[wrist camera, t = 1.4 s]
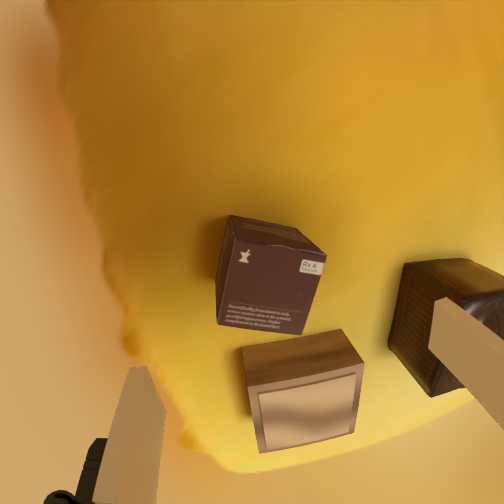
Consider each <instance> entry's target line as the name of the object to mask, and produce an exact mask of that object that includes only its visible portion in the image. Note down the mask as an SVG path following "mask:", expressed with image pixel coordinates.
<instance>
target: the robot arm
mask: <svg viewBox="0 0 504 504" xmlns="http://www.w3.org/2000/svg"><path fill="white" fill-rule="evenodd" d="M428 348H429V349H430V351H431V352H432V353H433V354H434V355H435V356H436V357H437V358H438V359H439V360H440V361H441V362H442V363H443V364H444V365H445V366H446V367H447V368H448V369H449V370H450V371H451V372H452V373H453V374H454V376H455V377H456V378H457V379H458V380H459V381H460V382H461V383H462V384H463V385H464V386H465V387H466V388H467V389H468V391H469V392H470V393H471V394H472V395H473V396H474V397H475V398H476V399H477V400H478V402H479V403H480V404H481V405H482V406H483V407H484V408H485V409H486V410H487V411H488V413H489V414H490V415H491V416H492V417H493V418H494V419H495V421H496V422H497V423H498V424H499V425H500V426H501V427H502V428H503V430H504V337H503V336H502V337H499V336H498V335H496V334H495V333H494V332H492V331H491V330H490V329H489V328H487V327H486V326H485V325H483V324H482V323H481V322H479V321H478V320H477V319H475V318H474V317H473V316H471V315H470V314H469V313H467V312H466V311H465V310H463V309H462V308H461V307H459V306H458V305H457V304H455V303H454V302H452V301H451V300H450V299H448V298H447V297H445V298H443V299H440V300H437V301H435V304H434V312H433V319H432V327H431V333H430V339H429V345H428ZM165 417H166V408H165V407H164V404H163V402H162V400H161V398H160V396H159V394H158V392H157V390H156V387H155V385H154V383H153V381H152V379H151V376H150V374H149V372H148V369H147V367H146V366H143V367H133V368H130V369H129V372H128V375H127V378H126V381H125V384H124V387H123V390H122V393H121V396H120V400H119V403H118V406H117V409H116V412H115V416H114V419H113V422H112V426H111V429H110V433H109V436H108V438H97V439H96V440H95V441H94V442H93V444H92V445H91V446H90V448H89V450H88V453H87V456H86V461H85V463H84V466H83V470H82V473H81V476H80V480H79V483H78V487H77V491H76V495H75V496H74V495H73V494H72V493H70V492H68V491H64V490H58V491H55V492H52V493H51V494H49V495H48V496H47V498H46V499H45V500H44V504H156V498H157V488H158V477H159V467H160V458H161V449H162V440H163V432H164V425H165Z"/></svg>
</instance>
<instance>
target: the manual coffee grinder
mask: <svg viewBox="0 0 504 504" xmlns="http://www.w3.org/2000/svg"><path fill="white" fill-rule="evenodd" d="M445 297H447V298H448V299H450V300H451V301H452V302H454V303H455V304H457V305H458V306H459V307H461V308H462V309H463V310H465V311H466V312H467V313H469V314H470V315H471V316H473V317H474V318H475V319H477V320H478V321H479V322H481V323H482V324H483V325H485V326H486V327H487V328H489V329H490V330H491V331H492V332H494V333H495V334H496V335H498V336H499V337H502V336H503V337H504V276H503V275H501V274H499V273H497V272H495V271H493V270H491V269H489V268H487V267H484V266H482V265H480V264H478V263H475V262H474V261H472V260H468V259H462V258H455V259H438V260H429V261H420V262H412V263H405V266H404V271H403V275H402V279H401V283H400V288H399V294H398V299H397V304H396V308H395V313H394V318H393V322H392V327H391V331H390V336H389V340H388V343H389V350H391V351H392V352H393V353H394V354H395V355H396V356H397V358H398V359H399V360H400V361H401V363H402V364H403V365H404V366H405V368H406V369H407V370H408V371H409V373H410V374H411V375H412V376H413V377H414V379H415V380H416V381H417V382H418V384H419V385H420V386H421V387H422V389H423V390H424V391H425V392H426V394H427V395H428V396H429V397H431V398H432V397H435V396H438V395H441V394H444V393H447V392H450V391H453V390H455V389H458V388H466V387H465V386H464V385H463V384H462V383H461V382H460V381H459V380H458V379H457V378H456V377H455V376H454V374H453V373H452V372H451V371H450V370H449V369H448V368H447V367H446V366H445V365H444V364H443V363H442V362H441V361H440V360H439V359H438V358H437V357H436V356H435V355H434V354H433V353H432V352H431V351H430V349H429V348H428V345H429V339H430V333H431V327H432V319H433V312H434V304H435V301H437V300H440V299H443V298H445Z"/></svg>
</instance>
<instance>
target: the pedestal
mask: <svg viewBox="0 0 504 504" xmlns="http://www.w3.org/2000/svg"><path fill="white" fill-rule="evenodd" d="M241 348H242V355H243V362H244V369H245V376H246V382H247V389H248V394H249V400H250V406H251V411H252V417H253V422H254V428H255V433H256V439H257V444H258V449H259V453H265V452H272V451H277V450H283V449H288V448H293V447H298V446H303V445H308V444H312V443H316V442H321V441H325V440H329V439H332V438H336V437H340V436H344V435H347V434H351V433H354V429H355V423H356V418H357V412H358V405H359V399H360V392H361V385H362V377H363V369H364V362H363V360H362V359H361V357H360V356H359V354H358V353H357V351H356V350H355V348H354V347H353V345H352V344H351V342H350V341H349V339H348V338H347V336H346V335H345V334H344V332H343V331H342V329H339V330H334V331H329V332H324V333H319V334H314V335H309V336H304V337H299V338H293V339H288V340H282V341H276V342H270V343H264V344H258V345H252V346H245V347H241Z"/></svg>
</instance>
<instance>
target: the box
mask: <svg viewBox="0 0 504 504" xmlns="http://www.w3.org/2000/svg"><path fill="white" fill-rule="evenodd" d="M326 257H327V255H326V254H325V253H324V252H322V251H321V250H320V249H319V248H318V247H317V246H316V245H315V244H313V243H312V242H311V241H310V240H309V239H308V238H307V237H305V236H304V235H303V234H302V233H301V232H300V231H299V230H298V229H296V228H291V227H286V226H282V225H277V224H272V223H268V222H263V221H258V220H252V219H247V218H242V217H237V216H232V215H230V216H229V217H228V221H227V226H226V230H225V235H224V240H223V245H222V250H221V255H220V260H219V265H218V270H217V275H216V281H215V284H216V317H217V324H218V325H224V326H230V327H237V328H244V329H252V330H259V331H267V332H276V333H284V334H293V335H302V332H303V329H304V326H305V323H306V320H307V317H308V314H309V311H310V308H311V305H312V302H313V299H314V296H315V292H316V289H317V286H318V283H319V280H320V277H321V274H322V271H323V267H324V264H325V261H326Z"/></svg>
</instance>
